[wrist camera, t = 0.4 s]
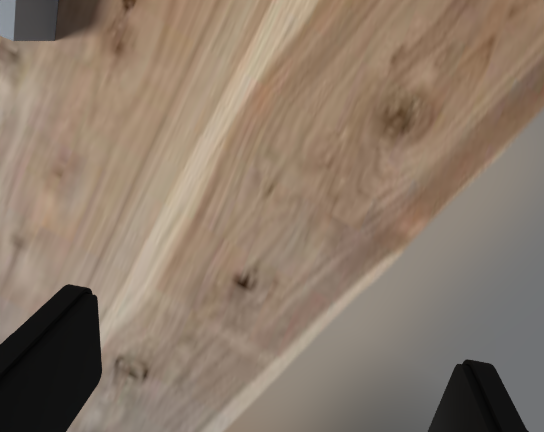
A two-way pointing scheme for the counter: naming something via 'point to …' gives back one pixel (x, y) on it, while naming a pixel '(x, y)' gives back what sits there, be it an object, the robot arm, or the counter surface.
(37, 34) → the hole block
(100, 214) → the counter surface
